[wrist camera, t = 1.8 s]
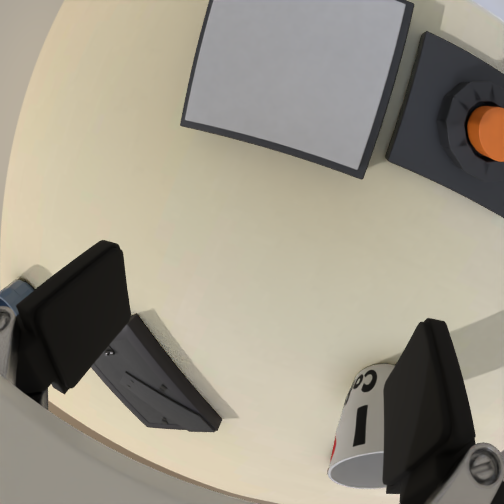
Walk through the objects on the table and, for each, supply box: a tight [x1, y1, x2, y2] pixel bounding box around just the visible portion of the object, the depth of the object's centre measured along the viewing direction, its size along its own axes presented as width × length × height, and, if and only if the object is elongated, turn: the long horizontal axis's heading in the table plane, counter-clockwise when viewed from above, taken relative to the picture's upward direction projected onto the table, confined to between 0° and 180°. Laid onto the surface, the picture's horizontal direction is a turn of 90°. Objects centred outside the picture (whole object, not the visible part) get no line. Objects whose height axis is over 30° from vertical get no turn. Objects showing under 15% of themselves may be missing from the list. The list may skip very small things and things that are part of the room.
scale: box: [180, 0, 414, 179], centre depth 15 cm, size 12×12×3 cm
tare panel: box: [385, 31, 504, 218], centre depth 14 cm, size 10×9×3 cm
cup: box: [328, 364, 395, 489], centre depth 22 cm, size 8×8×10 cm
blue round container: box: [0, 279, 34, 316], centre depth 34 cm, size 7×7×5 cm
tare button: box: [467, 106, 504, 162], centre depth 12 cm, size 3×3×2 cm
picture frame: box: [91, 314, 222, 432], centre depth 35 cm, size 13×2×18 cm
